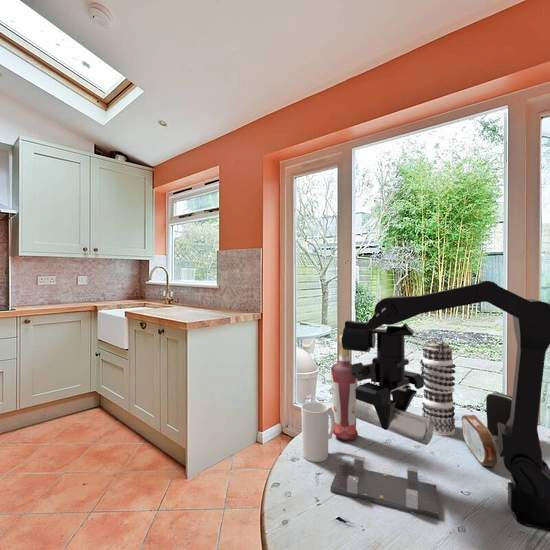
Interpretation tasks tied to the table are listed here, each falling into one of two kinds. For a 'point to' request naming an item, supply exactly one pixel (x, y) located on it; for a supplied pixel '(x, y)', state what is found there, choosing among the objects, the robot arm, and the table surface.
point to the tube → (398, 422)
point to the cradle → (387, 488)
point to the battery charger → (497, 411)
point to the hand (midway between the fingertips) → (391, 425)
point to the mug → (316, 430)
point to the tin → (479, 440)
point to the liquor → (344, 396)
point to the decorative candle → (438, 386)
